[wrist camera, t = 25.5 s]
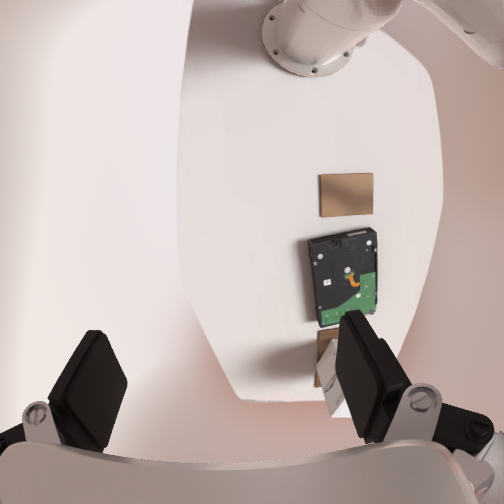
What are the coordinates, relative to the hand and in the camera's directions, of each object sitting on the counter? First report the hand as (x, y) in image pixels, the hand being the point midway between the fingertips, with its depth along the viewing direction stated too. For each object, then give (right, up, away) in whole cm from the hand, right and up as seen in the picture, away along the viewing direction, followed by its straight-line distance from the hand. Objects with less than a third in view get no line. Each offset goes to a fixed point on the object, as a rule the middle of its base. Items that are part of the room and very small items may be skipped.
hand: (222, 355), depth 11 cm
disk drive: (+15, 0, +34) cm, 38 cm away
